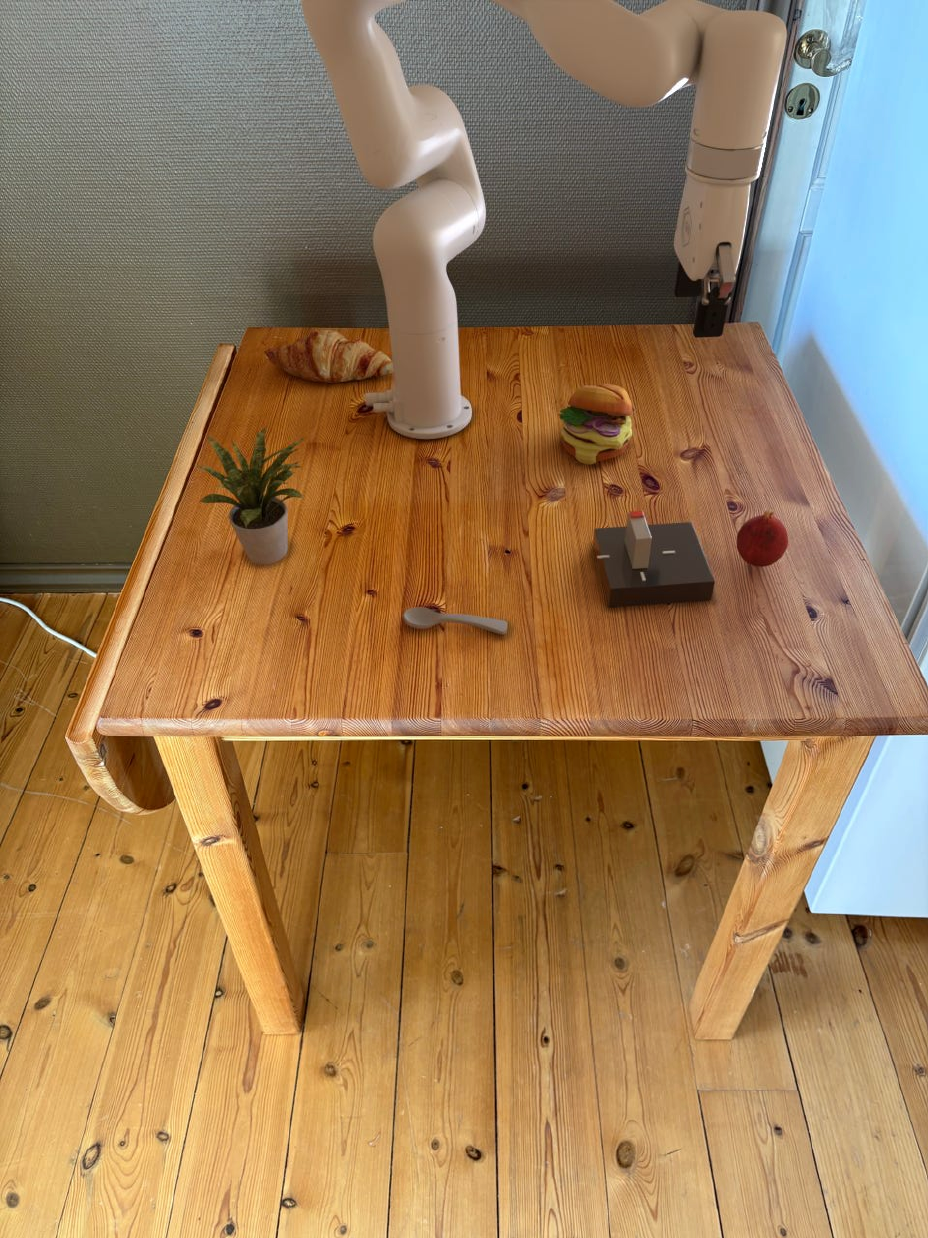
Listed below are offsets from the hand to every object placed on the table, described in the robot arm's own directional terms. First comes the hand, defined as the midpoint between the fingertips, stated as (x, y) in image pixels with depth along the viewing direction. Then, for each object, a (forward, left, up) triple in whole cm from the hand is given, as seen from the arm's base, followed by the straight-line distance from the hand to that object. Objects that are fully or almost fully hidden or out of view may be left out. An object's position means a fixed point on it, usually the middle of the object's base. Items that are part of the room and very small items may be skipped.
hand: (696, 315), depth 106 cm
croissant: (-46, +37, -25) cm, 64 cm away
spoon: (-30, -23, -25) cm, 45 cm away
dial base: (-6, -16, -25) cm, 30 cm away
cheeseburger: (-8, +12, -25) cm, 29 cm away
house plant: (-52, -8, -25) cm, 58 cm away
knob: (-8, -16, -21) cm, 28 cm away
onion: (+7, -16, -25) cm, 30 cm away
